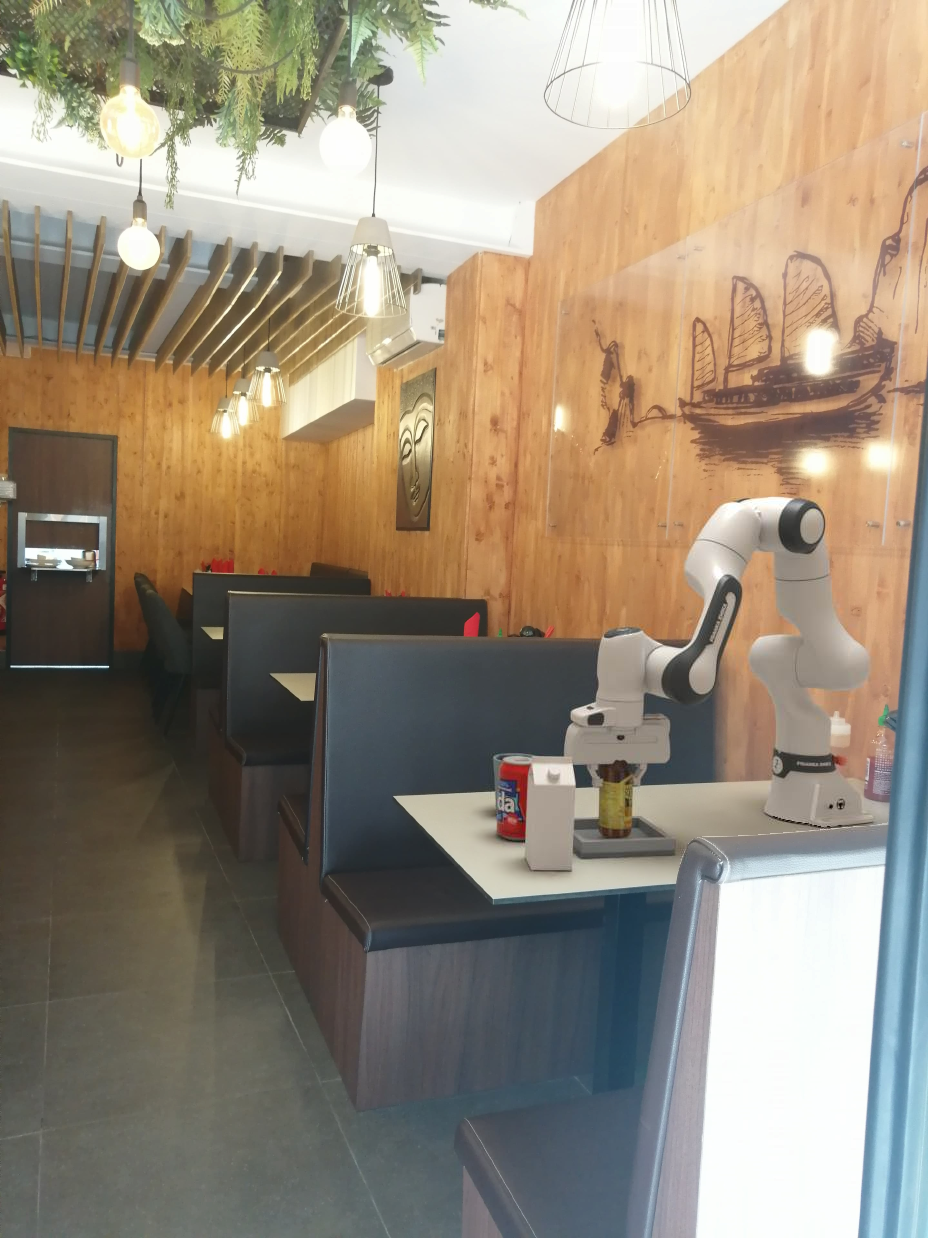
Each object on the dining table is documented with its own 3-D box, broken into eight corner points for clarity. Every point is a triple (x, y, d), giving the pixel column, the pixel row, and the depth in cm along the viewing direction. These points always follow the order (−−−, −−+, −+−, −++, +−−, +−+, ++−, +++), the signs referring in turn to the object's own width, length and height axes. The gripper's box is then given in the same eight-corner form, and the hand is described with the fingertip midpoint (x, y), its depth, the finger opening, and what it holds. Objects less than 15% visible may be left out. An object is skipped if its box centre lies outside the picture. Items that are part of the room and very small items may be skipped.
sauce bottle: (631, 841, 164) (634, 735, 162) (597, 838, 165) (599, 733, 164) (631, 830, 170) (634, 728, 169) (599, 827, 172) (601, 726, 170)
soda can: (544, 841, 168) (547, 763, 167) (506, 844, 165) (509, 764, 164) (526, 829, 175) (529, 754, 174) (490, 832, 172) (493, 755, 172)
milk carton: (524, 857, 158) (528, 752, 157) (563, 857, 159) (568, 752, 158) (530, 871, 151) (535, 761, 150) (571, 871, 152) (576, 761, 151)
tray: (640, 830, 177) (641, 816, 177) (674, 855, 162) (675, 839, 162) (554, 833, 173) (555, 818, 173) (581, 859, 158) (582, 842, 158)
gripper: (663, 710, 172) (659, 781, 172) (562, 711, 167) (559, 783, 168) (677, 716, 165) (674, 789, 166) (574, 717, 161) (571, 792, 162)
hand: (615, 786), depth 167 cm, fingers closed on sauce bottle, 6 cm apart
